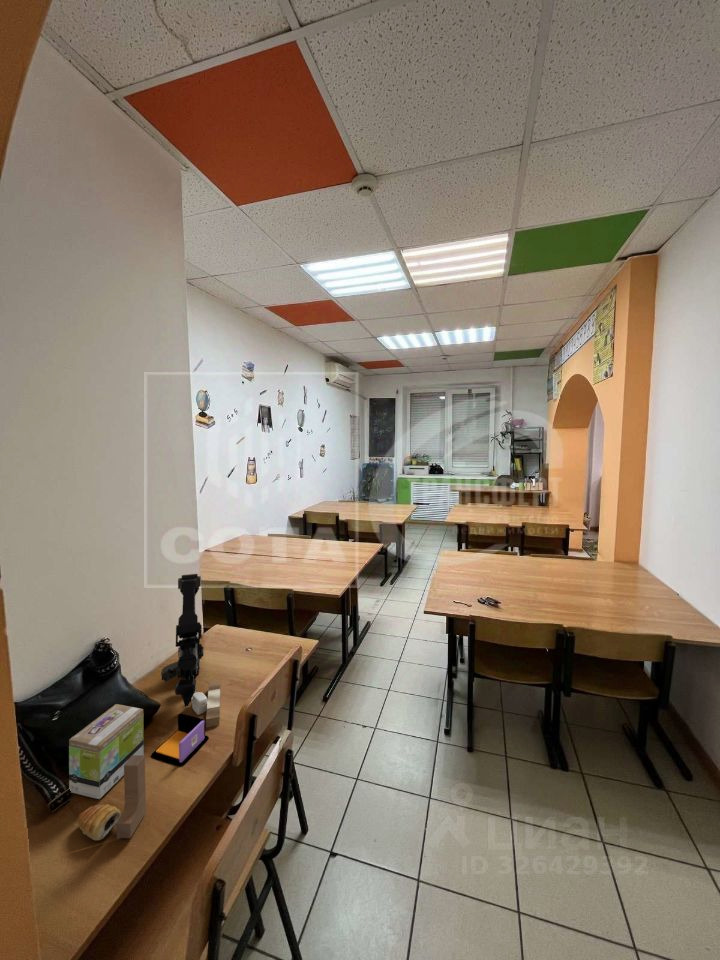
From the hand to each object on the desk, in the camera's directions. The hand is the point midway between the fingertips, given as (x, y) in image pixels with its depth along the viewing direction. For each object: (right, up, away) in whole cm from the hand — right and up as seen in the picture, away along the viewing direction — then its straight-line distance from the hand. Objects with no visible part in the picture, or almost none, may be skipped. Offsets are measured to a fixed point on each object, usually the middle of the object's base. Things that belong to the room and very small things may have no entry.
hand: (188, 697), depth 135 cm
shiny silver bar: (+10, -2, -2) cm, 10 cm away
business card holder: (+7, -4, -20) cm, 22 cm away
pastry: (-2, -6, -42) cm, 42 cm away
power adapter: (+4, -2, -3) cm, 5 cm away
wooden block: (+7, -5, -44) cm, 45 cm away
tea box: (-8, -4, -30) cm, 31 cm away
